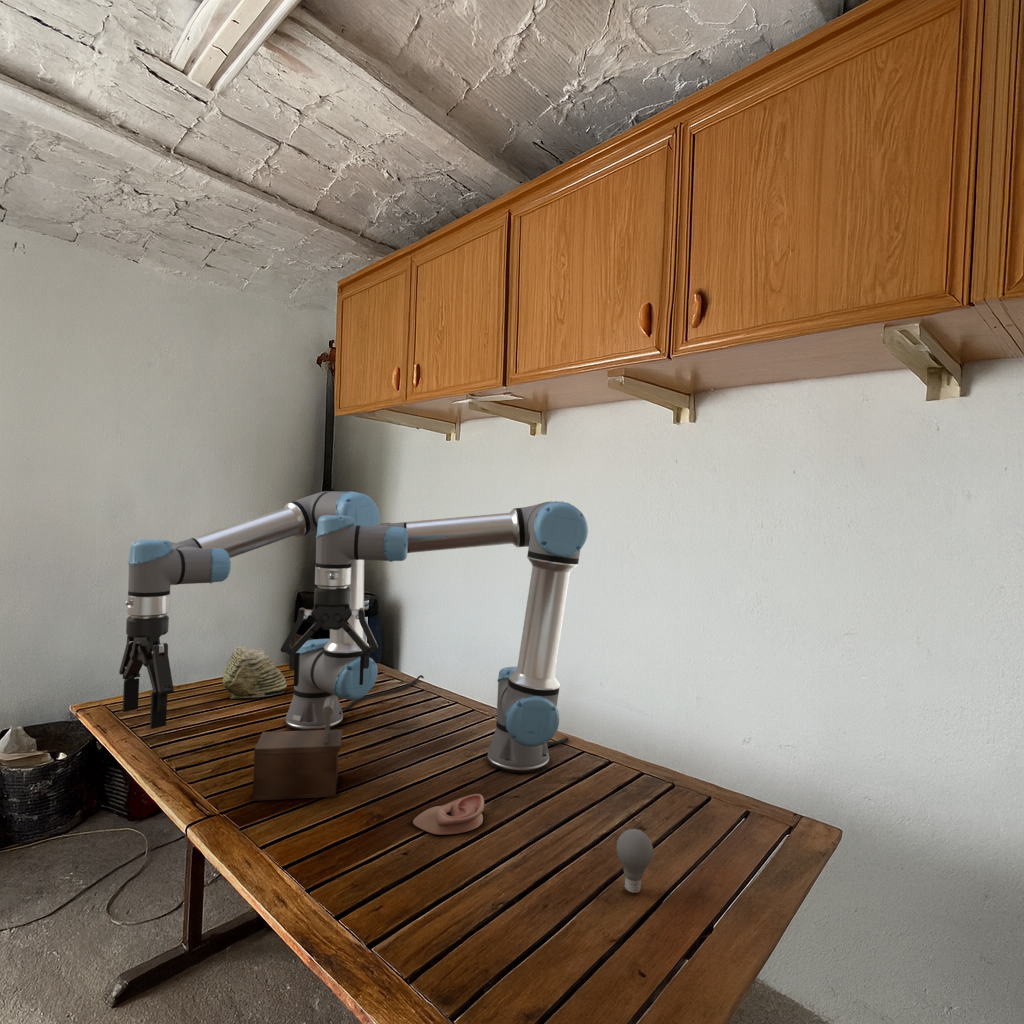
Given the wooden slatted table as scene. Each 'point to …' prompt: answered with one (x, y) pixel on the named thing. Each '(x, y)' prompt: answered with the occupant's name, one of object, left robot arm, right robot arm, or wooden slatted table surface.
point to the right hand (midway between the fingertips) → (329, 683)
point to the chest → (295, 775)
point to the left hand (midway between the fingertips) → (143, 718)
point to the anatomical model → (452, 816)
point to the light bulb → (634, 857)
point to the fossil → (252, 674)
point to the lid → (302, 738)
